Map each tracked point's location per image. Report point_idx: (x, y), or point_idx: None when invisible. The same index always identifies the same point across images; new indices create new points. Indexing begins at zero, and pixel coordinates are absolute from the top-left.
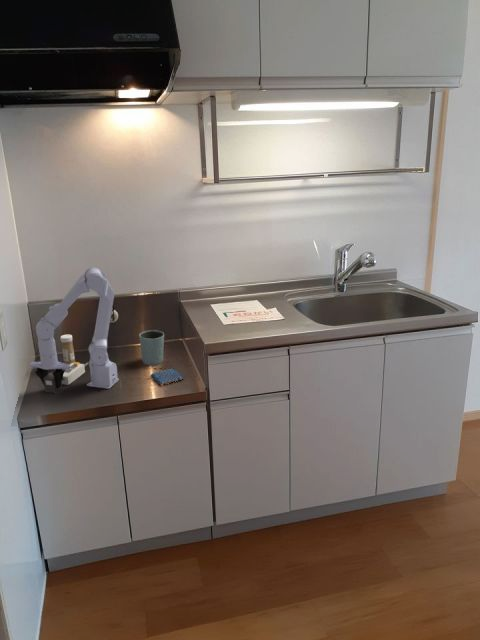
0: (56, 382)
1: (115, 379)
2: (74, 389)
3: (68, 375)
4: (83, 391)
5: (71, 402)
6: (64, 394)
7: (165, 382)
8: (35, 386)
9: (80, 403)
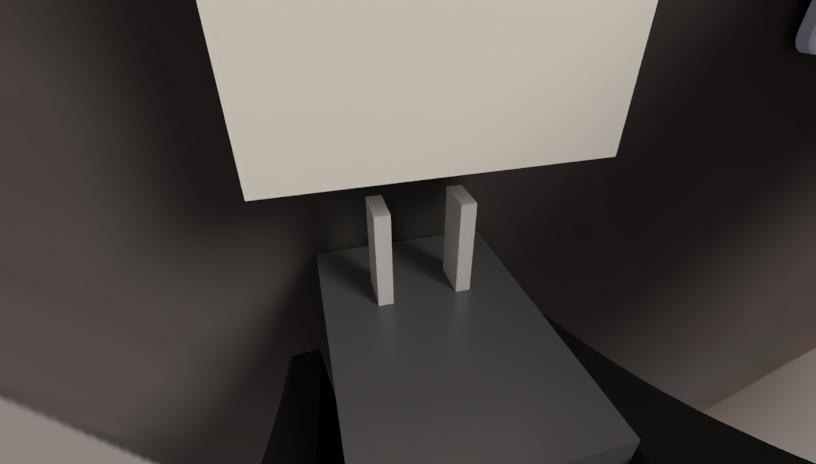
0: None
1: None
2: (637, 185)
3: (619, 83)
4: (745, 186)
5: (666, 368)
6: (564, 311)
7: None
8: (9, 336)
9: (734, 348)
